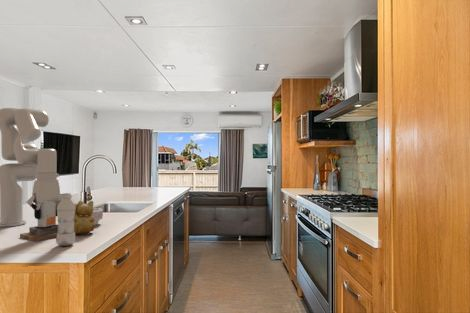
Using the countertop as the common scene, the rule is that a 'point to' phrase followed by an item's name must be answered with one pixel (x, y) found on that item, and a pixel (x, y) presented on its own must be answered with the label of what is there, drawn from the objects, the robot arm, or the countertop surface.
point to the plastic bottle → (65, 220)
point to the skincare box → (47, 213)
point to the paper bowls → (97, 214)
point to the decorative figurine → (83, 218)
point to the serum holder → (41, 233)
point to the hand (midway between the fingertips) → (46, 217)
